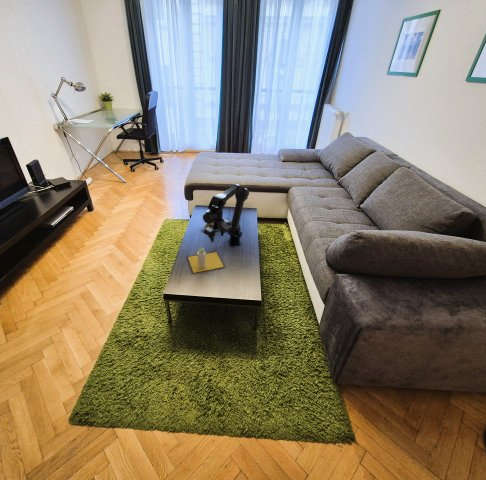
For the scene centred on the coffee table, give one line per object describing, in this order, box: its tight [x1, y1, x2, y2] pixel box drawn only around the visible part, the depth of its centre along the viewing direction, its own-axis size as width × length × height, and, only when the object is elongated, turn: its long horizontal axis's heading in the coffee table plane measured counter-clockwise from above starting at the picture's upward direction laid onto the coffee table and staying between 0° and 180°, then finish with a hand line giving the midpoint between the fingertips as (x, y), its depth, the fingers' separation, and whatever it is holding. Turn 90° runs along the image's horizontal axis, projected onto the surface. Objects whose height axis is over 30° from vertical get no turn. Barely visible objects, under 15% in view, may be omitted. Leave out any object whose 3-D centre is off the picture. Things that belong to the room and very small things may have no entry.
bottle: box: [196, 247, 207, 269], centre depth 157 cm, size 5×5×12 cm
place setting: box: [201, 220, 232, 232], centre depth 196 cm, size 18×20×6 cm
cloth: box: [187, 251, 225, 274], centre depth 164 cm, size 19×16×1 cm
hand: (217, 239), depth 163 cm, fingers open, 9 cm apart
